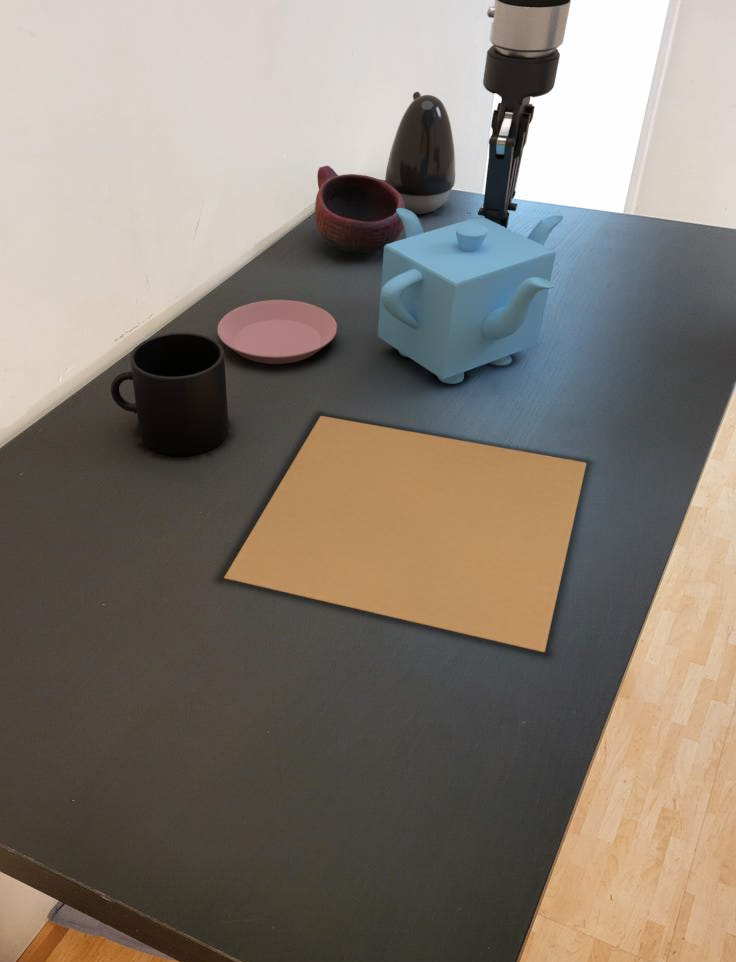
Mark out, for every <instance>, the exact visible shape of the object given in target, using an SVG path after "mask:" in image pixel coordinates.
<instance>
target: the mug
mask: <svg viewBox="0 0 736 962" xmlns="http://www.w3.org/2000/svg"><path fill="white" fill-rule="evenodd" d="M225 360H226V359H225V351H224V348H223V346H222V345H221V344H220V343H219V342H218V341H217V340H216V339H214V338H212V337H210V336H208V335H204V334H201V333H196V332H183V331H182V332H169V333H163V334H159V335H154V336H152V337H150V338H148V339H146V340H143V341H142V342H140V343H138V345H136V346H135V347H134V348H133V350H132V351H131V352H130V357H129V362H130V369H129V370H126V371H122V372H120V373H119V374H117V375H116V376H115V377H114V378H113V380H112V382H111V385H110V395H111V397H112V399H113V401H114V402H115V404H116V405H117V406H118V407H120V408H121V409H123V410H125V411H127V412H131V413H134V414H136V415H137V422H138V423H137V424H138V429H139V436H140V439H141V441H143V443H144V444H145V445H146V446H147V447H148V448H149V449H151V450H152V451H154V452H157V453H159V454H163V455H167V456H175V457H176V456H177V457H181V456H183V457H187V456H193V455H199V454H201V453H205V452H208V451H211V450H212V449H214V448H216V447H217V446H218V445H220V444H221V443H222V442H223V441H224V440H225V438H226V436H227V434H228V431H229V414H228V398H227V397H228V396H227V379H226V378H227V377H226V361H225ZM128 380H129V381H132V385H133V394H134V402H130V401H127V400H126V399H125V398H124V397H123V396H122V394H121V391H120V386H121V384H123V382H125V381H128Z"/></svg>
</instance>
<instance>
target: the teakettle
mask: <svg viewBox="0 0 736 962" xmlns="http://www.w3.org/2000/svg"><path fill="white" fill-rule="evenodd" d="M396 212H397V214H398V215H399V217H400V219H401V220H402V222H403V225H404V228H403V229H404V232H405V238H402V239H399V240H395V241H394V242H393V243H389V244H386V245H385V246H384V248H383V256H382V269H381V281H380V283H381V285H380V297H379V298H380V299H379V310H378V311H379V312H378V326H377V338H378V339H380V340H382V341H383V342H385V343H387V345H389V346H391V347H393V348H394V349H396V350H397V351H398V353H399V355H401V356H403V357H406V358H409V359H411V360H412V361H414V362H416V364H419V365H420V366H422V367H423V368H424V369H426V370H428V371H429V372H431V373H432V374H434V375H435V376H437V378H438V380H439V381H441V382H442V383H445V384H458V383H461V382H462V381H463V380H464V379H465V372H467V371H470V370H472V369H475V368H478V367H481V366H483V365H487V364H491V365H494V366H507V365H509V364H510V363H512V360H513V359H512V357H511V355H513V354H515V353H519V352H521V351H523V350H526V349H529V348H532V347H534V346H537V345H538V344H539V338H540V333H541V328H542V323H543V319H544V314H545V309H546V305H547V304H546V303H547V300H548V294H549V289H553V288H555V283H553V282H552V280H551V279H552V274H553V271H554V270H553V269H554V265H555V259H556V255H557V254H556V253H557V252H556V250H554V249H552V248H549V247H547V246H545V243H546V242H547V240H548V238H549V236H550V234H551V233H552V231H553V230H554V229H555V228H556V227H557V226H558V225H559V224H560V223H561V222H562V221H563V220H564V216H563V215H559V214H558V215H552V216H548V217H544V218H543V219H542V220H539V222H538V223H537V224H536V225H535V226H534V227H533V228H532V230H531V231H530V232H529V234H528V236H524V235H522V234H520V233H518V232H516V231H514V230H512V229H510V228H508V227H507V228H506V227H503V226H501V225H499V224H497V223H495V222H493V221H490V220H488V219H486V218H484V216H481V215H479V216H477V217H474V218H470V219H466V220H464V221H460V222H456V223H453V224H450V225H446V226H443V227H439V228H435V229H432V230H429V231H425V230H424V228H423V225H422V223H421V221H420V219H419V218H418V216H417V214H414V213H413V212H411V211H409V210H407V209H404V208H398V209H396Z"/></svg>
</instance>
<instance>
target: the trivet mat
mask: <svg viewBox="0 0 736 962" xmlns="http://www.w3.org/2000/svg"><path fill="white" fill-rule="evenodd" d="M586 467H587V462H585V461H578V460H573V459H568V458H561V457H556V456H550V455H545V454H539V453H533V452H528V451H522V450H516V449H510V448H506V447H500V446H493V445H488V444H483V443H477V442H471V441H466V440H459V439H454V438H448V437H442V436H437V435H432V434H426V433H422V432H415V431H410V430H404V429H398V428H393V427H386V426H381V425H380V426H379V425H375V424H370V423H364V422H358V421H352V420H347V419H341V418H335V417H330V416H324V415H320V416H319V418H318V420H317V421H316V422H315V424H314V426H313V428H312V430H311V431H310V433H309V435H308V436H307V438H306V439H305V441H304V443H303V444H302V446H301V448H300V450H299V451H298V453H297V454H296V456H295V458H294V459H293V461H292V463H291V465H290V467H289V468H288V470H287V472H286V473H285V475H284V477H282V480H281V482H280V483H279V485H278V486H277V488H276V489H275V491H274V493H273V495H272V496H271V498H270V500H269V502H268V503H267V505H266V506H265V508H264V510H263V512H262V513H261V515H260V517H259V518H258V520H257V521H256V523H255V525H254V527H253V528H252V529H251V531H250V534H249V535H248V537H247V539H246V540H245V541H244V543H243V545H242V546H241V548H240V550H239V552H238V553H237V555H236V557H235V559H234V560H233V562H232V564H231V565H230V566H229V568H228V570H227V571H226V574H225V575H224V577H223V579H225V580H229V581H233V582H238V583H242V584H247V585H251V586H256V587H260V588H264V589H269V590H273V591H276V592H282V593H285V594H290V595H293V596H294V595H295V596H298V597H303V598H307V599H312V600H315V601H320V602H324V603H329V604H333V605H338V606H340V607H341V606H342V607H346V608H350V609H355V610H358V611H363V612H368V613H372V614H375V615H380V616H385V617H390V618H394V619H398V620H402V621H407V622H410V623H414V624H415V623H416V624H419V625H423V626H427V627H433V628H435V629H441V630H445V631H449V632H454V633H458V634H462V635H467V636H470V637H471V636H472V637H476V638H478V639H479V638H480V639H484V640H488V641H492V642H496V643H501V644H506V645H510V646H514V647H518V648H522V649H527V650H532V651H535V652H541V653H544V654H545V652H546V648H547V644H548V640H549V636H550V631H551V625H552V620H553V616H554V612H555V607H556V603H557V600H558V599H557V598H558V594H559V590H560V585H561V581H562V576H563V572H564V567H565V562H566V558H567V553H568V548H569V545H570V539H571V535H572V532H573V527H574V521H575V517H576V513H577V508H578V504H579V499H580V495H581V490H582V485H583V481H584V476H585V472H586Z"/></svg>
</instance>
